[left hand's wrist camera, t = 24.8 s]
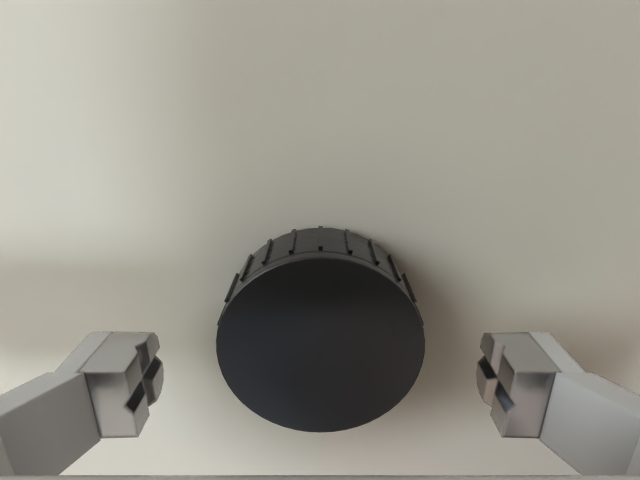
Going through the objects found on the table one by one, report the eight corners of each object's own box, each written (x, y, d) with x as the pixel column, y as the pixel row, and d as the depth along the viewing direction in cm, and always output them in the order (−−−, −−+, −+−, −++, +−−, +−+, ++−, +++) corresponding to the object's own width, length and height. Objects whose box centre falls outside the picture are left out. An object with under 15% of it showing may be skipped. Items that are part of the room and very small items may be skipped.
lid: (222, 224, 11) (202, 254, 10) (418, 224, 11) (439, 254, 10) (236, 383, 13) (222, 434, 12) (404, 383, 13) (418, 434, 12)
